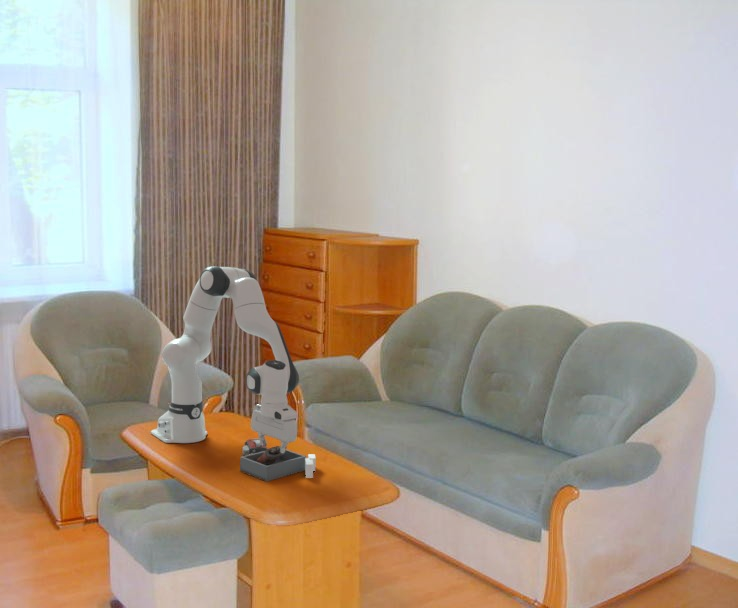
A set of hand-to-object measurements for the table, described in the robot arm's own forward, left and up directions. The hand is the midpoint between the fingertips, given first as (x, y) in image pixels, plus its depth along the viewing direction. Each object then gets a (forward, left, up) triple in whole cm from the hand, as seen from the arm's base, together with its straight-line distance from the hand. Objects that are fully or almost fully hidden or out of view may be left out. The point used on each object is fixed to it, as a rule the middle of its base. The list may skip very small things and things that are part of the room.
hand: (272, 449), depth 302 cm
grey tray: (0, 0, -8) cm, 8 cm away
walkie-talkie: (-19, +8, -8) cm, 22 cm away
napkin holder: (+10, +9, -8) cm, 16 cm away
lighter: (-4, 0, -6) cm, 7 cm away
